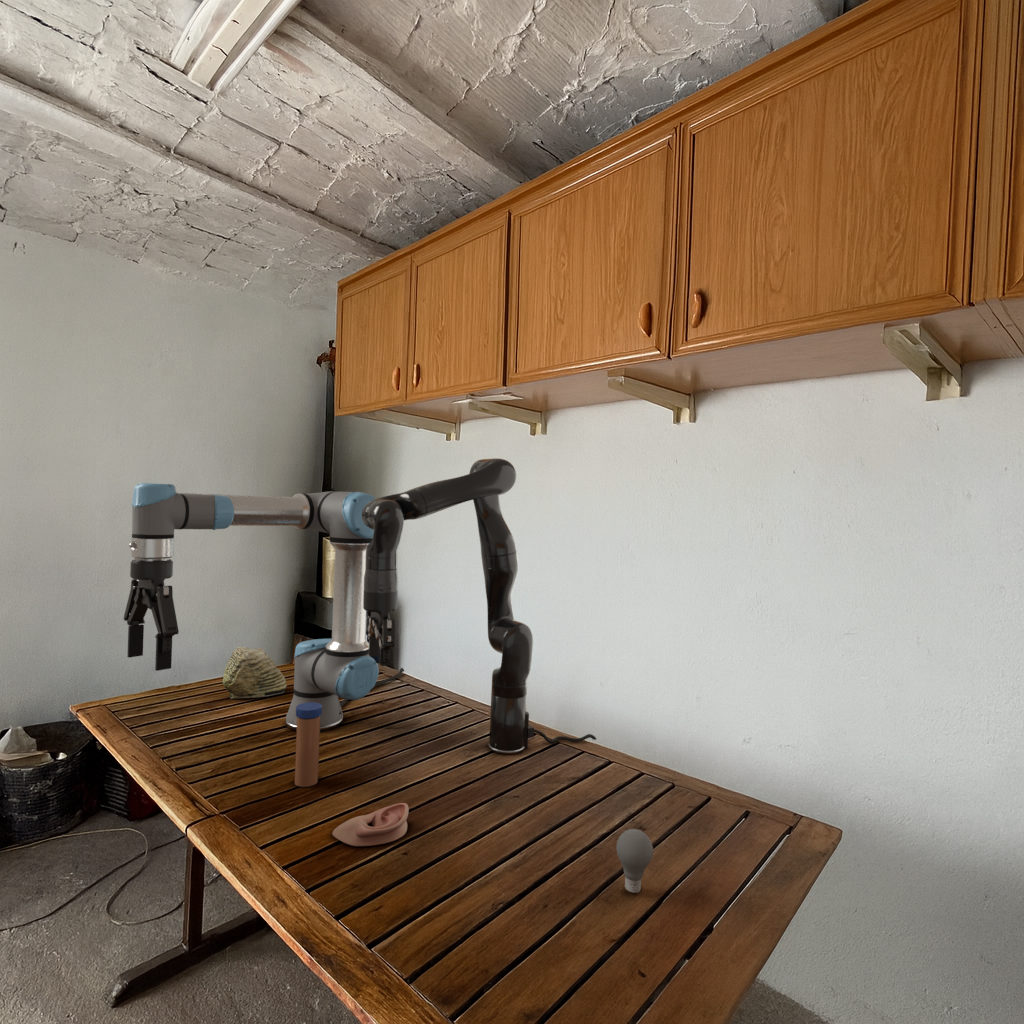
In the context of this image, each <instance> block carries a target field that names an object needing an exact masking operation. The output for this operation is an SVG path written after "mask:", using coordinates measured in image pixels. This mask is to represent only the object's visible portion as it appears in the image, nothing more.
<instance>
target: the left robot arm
mask: <svg viewBox="0 0 1024 1024" xmlns="http://www.w3.org/2000/svg"><path fill="white" fill-rule="evenodd" d="M377 498H378V497H375V495H373V494H370V493H367V492H363V491H362V492H361V491H337V490H336V491H335V490H333V491H332V490H330V491H321V492H311V493H295V494H294V495H293V496H276V495H275V496H274V495H273V496H272V495H248V494H247V495H246V494H244V495H243V494H220V493H219V494H218V493H217V494H216V493H215V494H214V493H189V492H187V493H186V492H177V491H176V486H175V485H174V484H173V483H152V482H139V483H137V484H136V485H135V486H134V488H133V492H132V501H131V520H132V521H131V542H130V543H128V547H129V548H130V549H131V550H130V556H131V558H133V559H132V560H131V561H130V567H129V568H130V571H129V574H130V575H129V576H130V578H131V581H130V590H129V594H128V598H127V603H126V607H125V610H124V615H123V621H124V622H126V624H127V626H128V629H127V630H128V631H127V658H135V657H142V656H144V635H145V634H144V630H145V625H144V624H145V623H146V621H145V619H144V618H145V616H146V615H147V612H148V609H149V610H151V613H152V618H153V620H154V624H155V627H156V631H157V633H156V635H155V636H154V638H155V661H154V663H155V665H154V668H155V669H154V670H155V671H157V672H159V671H164V670H169V669H172V659H173V657H172V655H173V637H175V636H176V635H179V632H180V631H179V625H178V619H177V615H176V614H177V613H176V609H175V603H174V597H173V595H174V593H173V585H165V580H167V579H171V578H172V577H173V575H174V573H173V572H174V561H173V560H172V559H171V558H173V557H174V554H175V553H174V552H175V530H213V531H215V530H224V529H228V528H230V526H233V527H234V526H237V527H238V526H240V527H243V526H246V527H247V526H249V527H250V526H258V527H259V526H268V527H269V526H276V527H277V526H282V527H284V526H285V527H286V526H287V527H288V526H289V527H290V526H291V527H293V528H294V529H296V530H308V531H309V530H310V531H316V532H319V533H325V534H329V544H330V545H331V546H332V547H333V548H334V550H335V551H334V572H333V573H334V577H333V599H332V625H331V626H332V627H331V638H317V639H308V640H304V641H300V642H299V643H297V645H296V646H295V650H294V655H293V657H294V672H293V673H294V674H293V695H292V696H293V697H292V699H291V702H290V704H289V708H288V711H287V713H286V715H285V726H286V728H287V729H289V730H291V731H294V732H295V731H297V716H296V707H297V706H298V705H299V704H303V703H319V704H321V705H322V714H321V716H320V732H325V731H329V730H332V729H335V728H337V727H339V726H340V725H342V723H343V722H344V714H343V709H342V706H344V705H345V704H346V703H347V702H348V701H349V700H350V701H357V700H360V699H362V698H364V697H365V696H367V695H368V694H370V692H371V690H372V689H374V688H375V687H378V686H381V685H384V684H386V683H388V682H390V681H393V680H395V679H397V678H398V677H400V676H401V675H402V673H403V672H405V670H404V667H401V668H399V671H398V673H397V674H395V675H392V676H390V677H388V678H386V679H383V680H381V681H378V678H379V674H380V672H379V671H380V670H379V669H380V668H379V665H378V663H377V662H376V660H375V659H374V657H371V656H369V641H368V640H367V639H366V616H367V613H366V612H367V611H366V610H364V608H363V596H364V575H365V569H366V568H365V562H366V548H367V545H368V544H369V543H371V542H372V541H373V534H374V530H373V529H371V528H369V527H367V526H366V525H365V524H364V522H363V520H362V511H363V508H364V507H365V505H366V504H367V503H368V502H370V501H372V500H374V499H377ZM339 698H341V699H342V701H341V702H340V699H339Z"/></svg>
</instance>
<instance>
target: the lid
mask: <svg viewBox="0 0 1024 1024" xmlns="http://www.w3.org/2000/svg"><path fill="white" fill-rule="evenodd" d="M321 714H322V705H321V704H319V703H303V704H299V705H298V706H297V707H296V716H297V717H298V718H301V719H312V718H316V717H319V716H321Z"/></svg>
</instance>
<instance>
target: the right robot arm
mask: <svg viewBox="0 0 1024 1024" xmlns="http://www.w3.org/2000/svg"><path fill="white" fill-rule="evenodd" d="M516 480H517V470H516V468H515V467H514V464H512V463H511V462H510V461H509V460H507V459H503V458H496V457H495V458H482V459H478V460H476V461H475V462H474V463H473V464H472V465H471V467H470V468H469V473H468V474H464V475H462V476H457V477H452V478H448V479H442V480H437V481H433V482H430V483H426V484H423V485H420V486H417V487H413V488H410V489H408V490H406V491H403V492H400V493H394V494H389V495H385V496H380V497H376V498H377V499H374V500H372V501H370V502H368V503H367V504H366V505H365V507H364V508H363V511H362V520H363V522H364V524H365V525H366V526H367V527H369V528H371V529H373V530H374V534H373V541H372V542H371V543H369V544H368V545H367V548H366V562H365V568H366V569H365V575H364V596H363V608H364V610H366V632H365V636H367V641H368V643H369V656H370V657H371V658H374V657H379V658H378V659H379V660H378V661H379V662H378V663H379V666H381V667H385V666H386V667H387V666H390V665H391V649H392V648H395V645H396V644H395V643H396V639H395V638H396V635H395V634H396V630H395V629H396V620H395V619H393V618H390V617H391V616H390V613H391V612H394V611H397V609H398V600H399V599H398V598H399V575H398V574H399V573H398V561H399V560H398V559H399V557H398V556H399V555H398V549H399V546H400V543H401V539H402V534H403V532H404V525H405V524H404V523H405V521H410V520H418V519H422V518H425V517H428V516H430V515H433V514H436V513H438V512H442V511H444V510H447V509H450V508H452V507H454V506H457V505H460V504H463V503H466V502H470V501H473V506H474V510H475V515H476V520H477V521H476V522H477V530H478V536H479V537H478V538H479V544H480V554H481V564H482V571H483V577H484V587H485V595H486V596H485V597H486V605H487V606H486V607H487V608H486V609H487V610H486V611H487V638H488V642H489V645H490V648H492V649H493V650H494V651H495V652H498V653H499V654H501V662H500V667H496V668H494V669H493V670H492V674H491V690H490V691H491V692H490V713H489V714H490V717H489V735H488V749H489V750H490V751H492V752H493V753H496V754H501V755H502V754H503V755H514V754H515V755H516V754H520V753H522V752H523V751H524V750H528V748H529V746H528V744H529V739H531V738H534V737H535V734H537V735H539V736H541V737H542V738H543V739H544V740H545V741H546V742H547V743H549V744H554V743H556V742H557V741H568V742H571V743H572V742H573V743H580V742H583V741H585V740H587V739H589V738H590V739H592V740H593V741H595V740H597V737H596V736H595V735H594V734H591V733H588V734H585V735H583V736H581V737H579V738H577V737H576V738H574V737H569V736H563V735H560V736H559V735H558V736H556V737H554V738H552V739H550V738H549V737H548V736H547V735H546V734H545V733H544V732H543V731H541V730H539V729H536V728H535V727H534V726H532V725H531V724H529V723H530V712H529V711H528V710H527V698H528V679H529V675H530V673H531V671H532V670H531V669H532V663H533V651H534V634H533V630H532V629H531V628H530V626H529V625H528V624H526V623H525V622H521V621H518V620H516V619H515V616H514V609H513V600H512V599H513V593H514V592H513V591H514V589H515V586H516V582H517V579H518V576H519V570H520V569H519V566H520V565H519V557H518V549H517V543H516V541H515V538H514V536H513V533H512V532H511V530H510V528H509V526H508V524H507V522H506V521H505V518H504V516H503V513H502V509H501V503H500V496H502V495H506V494H508V493H509V492H510V491H511V490H512V489H513V488H514V487H515V484H516V482H517V481H516Z"/></svg>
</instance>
